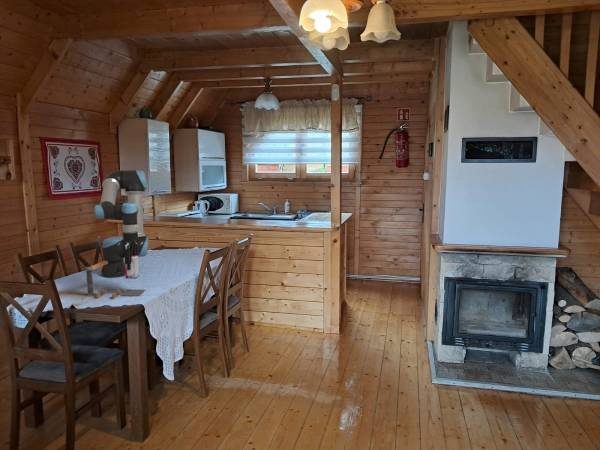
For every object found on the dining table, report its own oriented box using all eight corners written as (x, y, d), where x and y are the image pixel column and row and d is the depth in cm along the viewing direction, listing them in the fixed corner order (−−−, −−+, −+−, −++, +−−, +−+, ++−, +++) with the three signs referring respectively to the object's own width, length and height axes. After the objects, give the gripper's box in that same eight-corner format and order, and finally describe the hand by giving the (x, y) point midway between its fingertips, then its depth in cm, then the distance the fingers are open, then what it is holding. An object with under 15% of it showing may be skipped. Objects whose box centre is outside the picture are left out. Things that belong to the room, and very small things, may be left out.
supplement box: (139, 275, 248) (138, 255, 245) (135, 278, 242) (134, 258, 240) (128, 275, 247) (127, 255, 245) (125, 278, 242) (123, 258, 239)
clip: (84, 271, 238) (84, 267, 238) (103, 263, 254) (103, 260, 254) (89, 271, 237) (89, 268, 237) (108, 263, 253) (108, 260, 253)
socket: (93, 292, 246) (91, 268, 244) (121, 293, 246) (120, 269, 244) (84, 298, 237) (82, 273, 234) (114, 299, 236) (112, 274, 234)
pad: (127, 290, 251) (127, 289, 251) (145, 290, 251) (145, 289, 251) (120, 296, 241) (120, 295, 241) (138, 296, 241) (138, 295, 241)
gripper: (130, 235, 231) (132, 278, 235) (143, 228, 250) (145, 269, 253) (116, 235, 231) (118, 278, 235) (130, 228, 250) (131, 268, 254)
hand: (132, 273), depth 244 cm, fingers closed on supplement box, 6 cm apart
